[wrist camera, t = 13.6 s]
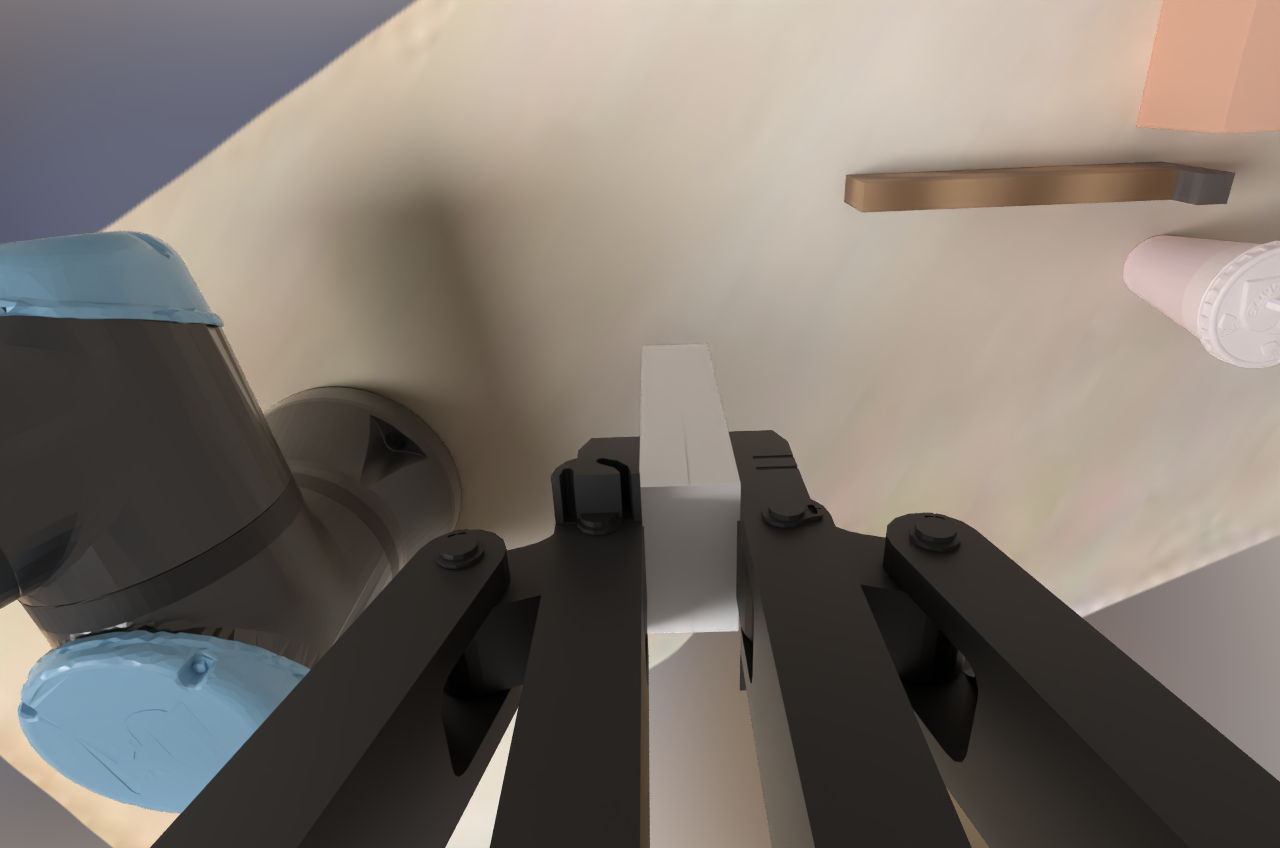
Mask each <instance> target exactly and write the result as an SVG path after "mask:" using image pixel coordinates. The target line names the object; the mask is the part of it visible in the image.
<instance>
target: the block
mask: <svg viewBox="0 0 1280 848" xmlns="http://www.w3.org/2000/svg"><path fill="white" fill-rule="evenodd" d="M1136 127H1147V128H1159V129H1172V130H1184V131H1197V132H1210V133H1243V132H1264V131H1280V0H1163V4H1162V8H1161V13H1160V17H1159V22H1158V27H1157V31H1156V36H1155V41H1154V45H1153V50H1152V54H1151V59H1150V64H1149V68H1148V73H1147V78H1146V82H1145V87H1144V91H1143V96H1142V101H1141V105H1140V110H1139V114H1138V119H1137V124H1136Z"/></svg>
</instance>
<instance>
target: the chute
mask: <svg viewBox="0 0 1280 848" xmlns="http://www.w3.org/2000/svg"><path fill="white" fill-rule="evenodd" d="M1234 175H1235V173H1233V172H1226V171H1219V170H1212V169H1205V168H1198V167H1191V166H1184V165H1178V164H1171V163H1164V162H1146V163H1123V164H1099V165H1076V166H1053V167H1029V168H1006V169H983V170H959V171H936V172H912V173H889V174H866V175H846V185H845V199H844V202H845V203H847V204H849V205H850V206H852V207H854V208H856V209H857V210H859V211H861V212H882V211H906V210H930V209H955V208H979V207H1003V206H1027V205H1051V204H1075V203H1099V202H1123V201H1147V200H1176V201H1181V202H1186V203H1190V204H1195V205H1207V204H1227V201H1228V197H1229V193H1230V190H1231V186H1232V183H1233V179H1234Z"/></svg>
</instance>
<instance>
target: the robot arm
mask: <svg viewBox="0 0 1280 848" xmlns="http://www.w3.org/2000/svg"><path fill="white" fill-rule="evenodd" d="M222 326H224V324H223V321H222V320H221V318H220V317H219V316H218V315H216V314H214V313H212V311H211V309H210V308H209V306H208V304H207V302H206V301H205V299H204V297H203V295H202V293H201V292H200V290H199V288H198V286H197V284H196V283H195V281H194V279H193V277H192V276H191V274H190V272H189V270H188V268H187V267H186V265H185V263H184V261H183V260H182V258H181V257H180V255H179V254H178V253H177V252H176V251H175V250H174V249H173V248H172V247H171V246H169V245H168V244H167V243H165V242H164V241H162V240H160V239H158V238H156V237H154V236H151V235H148V234H144V233H140V232H134V231H113V232H100V233H88V234H79V235H70V236H61V237H52V238H44V239H36V240H29V241H20V242H13V243H6V244H0V609H1V608H3V607H4V606H6V605H8V604H10V603H11V602H13V601H15V600H17V599H18V601H19V602H20V603H21V604H22V606H23V607H24V608H25V610H26V611H27V612H28V614H29V615H30V617H31V618H32V619H33V621H34V622H35V623H36V625H37V626H38V628H39V629H40V631H41V632H42V633H43V635H44V636H45V637H46V639H47V640H48V642H49V643H50V645H51V647H52V650H50V651H49V652H48V653H47V654H45V655H44V656H43V657H41V658H40V659H39V660H38V661H37V663H36V664H35V665H34V666H33V667H32V668H31V670H30V672H29V676H28V680H27V682H26V683H25V684H24V686H23V688H22V691H21V700H22V702H21V703H20V705H19V708H18V717H19V722H20V726H21V728H22V730H23V733H24V734H25V736H26V738H27V739H28V741H29V743H30V745H31V746H32V747H33V748H34V750H35V751H36V752H37V753H38V754H39V755H40V756H41V757H42V758H43V759H44V760H45V761H46V762H47V763H48V764H49V765H50V766H51V767H53V768H54V769H55V770H56V771H58V772H59V773H60V774H62V775H63V776H65V777H66V778H68V779H70V780H71V781H73V782H75V783H76V784H78V785H80V786H82V787H84V788H86V789H88V790H90V791H92V792H94V793H97V794H99V795H101V796H104V797H106V798H109V799H112V800H115V801H118V802H121V803H125V804H130V805H135V806H139V807H142V808H145V809H150V810H155V811H161V812H169V813H181V814H180V815H179V816H178V817H177V818H176V820H175V821H174V822H173V823H172V824H171V825H170V826H169V827H168V828H167V830H166V831H165V832H164V833H163V834H162V835H161V836H160V837H159V838H158V840H157V841H156V842H155V843H154V844H153V845H152V846H151V847H150V848H445V847H446V845H447V843H448V841H449V839H450V837H451V836H452V834H453V832H454V830H455V828H456V826H457V824H458V822H459V820H460V818H461V816H462V814H463V812H464V810H465V809H466V807H467V805H468V803H469V801H470V799H471V797H472V795H473V793H474V791H475V789H476V787H477V785H478V784H479V782H480V780H481V778H482V776H483V774H484V772H485V770H486V768H487V766H488V764H489V762H490V760H491V758H492V757H493V755H494V753H495V751H496V749H497V747H498V745H499V743H500V741H501V739H502V737H503V735H504V733H505V731H506V730H507V728H508V726H509V724H510V722H511V720H512V718H513V716H514V714H515V712H516V710H517V708H518V712H517V717H516V722H515V727H514V731H513V736H512V741H511V746H510V751H509V756H508V761H507V766H506V771H505V776H504V780H503V785H502V790H501V795H500V800H499V805H498V810H497V815H496V820H495V825H494V829H493V834H492V839H491V844H490V848H650V814H649V813H650V811H649V810H650V808H649V655H648V634H650V633H687V632H718V631H719V632H721V631H722V632H723V631H738V618H739V616H740V623H741V657H740V660H741V661H740V690H747V696H748V702H749V708H750V715H751V721H752V727H753V733H754V740H755V745H756V752H757V757H758V764H759V770H760V777H761V783H762V789H763V795H764V801H765V808H766V814H767V820H768V826H769V833H770V839H771V845H772V848H971V845H970V843H969V841H968V838H967V836H966V833H965V831H964V829H963V827H962V824H961V822H960V819H959V817H958V815H957V812H956V810H955V807H954V805H953V803H952V800H951V798H950V796H949V794H948V791H947V789H948V790H949V791H950V793H951V794H952V796H953V797H954V798H955V800H956V801H957V803H958V804H959V805H960V807H961V808H962V810H963V811H964V812H965V814H966V815H967V817H968V818H969V819H970V821H971V822H972V824H973V825H974V826H975V828H976V829H977V831H978V832H979V833H980V835H981V836H982V838H983V839H984V840H985V842H986V843H987V845H988V846H989V847H990V848H1280V782H1279V781H1278V780H1277V779H1276V778H1275V777H1273V776H1272V775H1271V774H1270V773H1268V772H1267V771H1266V770H1265V769H1264V768H1262V767H1261V766H1260V765H1259V764H1257V763H1256V762H1255V761H1254V760H1253V759H1252V758H1250V757H1249V756H1248V755H1247V754H1246V753H1244V752H1243V751H1242V750H1241V749H1239V748H1238V747H1237V746H1236V745H1235V744H1234V743H1232V742H1231V741H1230V740H1229V739H1227V738H1226V737H1225V736H1224V735H1223V734H1221V733H1220V732H1219V731H1218V730H1217V729H1215V728H1214V727H1213V726H1212V725H1211V724H1209V723H1208V722H1207V721H1206V720H1205V719H1203V718H1202V717H1201V716H1200V715H1199V714H1197V713H1196V712H1195V711H1193V709H1191V708H1190V707H1189V706H1188V705H1186V704H1185V703H1184V702H1183V701H1182V700H1180V699H1179V698H1178V697H1177V696H1176V695H1174V694H1173V693H1172V692H1171V691H1170V690H1168V689H1167V688H1166V687H1165V686H1164V685H1162V684H1161V683H1160V682H1159V681H1158V680H1156V679H1155V678H1154V677H1153V676H1151V675H1150V674H1149V673H1148V672H1147V671H1145V670H1144V669H1143V668H1142V667H1141V666H1139V665H1138V664H1137V663H1136V662H1135V661H1133V660H1132V659H1131V658H1130V657H1129V656H1127V655H1126V654H1125V653H1124V652H1123V651H1121V650H1120V649H1119V648H1117V646H1115V645H1114V644H1113V643H1112V642H1110V641H1109V640H1108V639H1107V638H1106V637H1104V636H1103V635H1102V634H1101V633H1099V632H1098V631H1097V630H1096V629H1094V627H1092V626H1091V625H1090V624H1089V623H1088V622H1086V621H1085V620H1084V619H1083V618H1082V617H1080V616H1079V615H1078V614H1077V613H1075V612H1074V611H1073V610H1072V609H1071V608H1069V607H1068V606H1067V605H1066V604H1065V603H1063V602H1062V601H1061V600H1060V599H1059V598H1057V597H1056V596H1055V595H1054V594H1053V593H1051V592H1050V591H1049V590H1048V589H1047V588H1045V587H1044V586H1043V585H1042V584H1041V583H1039V582H1038V581H1037V580H1036V579H1034V578H1033V577H1032V576H1031V575H1030V574H1028V573H1027V572H1026V571H1025V570H1024V569H1022V568H1021V567H1020V566H1019V565H1018V564H1016V563H1015V562H1014V561H1013V560H1012V559H1010V558H1009V557H1008V556H1007V555H1006V554H1004V553H1003V552H1002V551H1001V550H999V549H998V548H997V547H996V546H995V545H993V544H992V543H991V542H990V541H989V540H987V539H986V538H985V537H984V536H983V535H981V534H980V533H979V532H978V531H977V530H975V529H974V528H972V527H970V526H969V525H967V524H965V523H964V522H962V521H959V520H956V519H953V518H950V517H947V516H945V515H941V514H933V513H915V514H907V515H904V516H901V517H897V518H895V519H894V520H893V521H892V522H891V523H890V524H888V525H887V533H886V538H884V537H878V536H871V535H865V534H859V533H855V532H850V531H846V530H844V529H841V528H838V527H836V526H835V524H834V522H833V519H832V517H831V515H830V513H829V512H828V511H827V510H826V508H825V507H824V506H823V505H821V504H819V503H817V502H815V501H814V500H812V499H810V497H809V494H808V492H807V489H806V487H805V484H804V482H803V479H802V477H801V474H800V472H799V469H797V464H796V462H795V459H794V457H793V454H792V451H791V449H790V446H789V444H788V441H786V440H785V439H783V438H782V437H781V436H779V435H778V434H777V433H775V432H774V431H773V430H764V431H735V432H728V428H727V424H726V419H725V415H724V411H723V407H722V402H721V398H720V394H719V390H718V385H717V381H716V377H715V373H714V368H713V364H712V360H711V356H710V351H709V347H708V343H700V344H673V345H646V346H642V367H641V416H640V437H615V438H591V439H590V440H589V441H588V442H587V443H586V444H585V445H584V446H583V447H582V448H581V449H580V450H579V452H578V457H577V458H576V459H573V460H570V461H567V462H565V463H564V464H562V465H560V466H559V467H557V468H556V469H555V471H554V472H553V474H552V475H551V482H552V491H553V501H554V510H555V520H556V526H555V531H554V534H553V535H552V536H550V537H549V538H547V539H545V540H542V541H540V542H538V543H535V544H532V545H528V546H525V547H521V548H516V549H512V550H506V546H505V543H504V540H503V539H502V538H500V537H499V536H497V535H496V534H495V533H492V532H488V531H484V530H467V529H464V530H457V531H453V530H454V528H455V526H456V523H457V520H458V517H459V513H460V507H461V487H460V481H459V476H458V473H457V469H456V467H455V464H454V462H453V460H452V457H451V455H450V454H449V452H448V450H447V448H446V447H445V445H444V444H443V442H442V441H441V440H440V438H439V437H438V436H437V435H436V433H435V432H434V431H433V430H432V429H431V428H430V427H429V426H428V425H427V424H426V423H425V422H424V421H423V420H421V419H420V418H419V417H418V416H416V415H415V414H414V413H412V412H411V411H409V410H408V409H406V408H405V407H403V406H401V405H400V404H398V403H396V402H394V401H392V400H390V399H388V398H385V397H383V396H380V395H377V394H374V393H371V392H367V391H363V390H358V389H352V388H343V387H326V388H317V389H311V390H307V391H303V392H300V393H297V394H294V395H292V396H290V397H288V398H286V399H284V400H282V401H280V402H279V403H277V404H276V405H274V406H273V407H272V408H271V409H269V410H268V411H267V412H266V413H265V414H264V415H263V413H262V411H261V409H260V407H259V405H258V402H257V400H256V398H255V396H254V394H253V392H252V390H251V388H250V386H249V384H248V382H247V380H246V378H245V376H244V373H243V371H242V369H241V367H240V365H239V363H238V361H237V359H236V357H235V355H234V353H233V351H232V349H231V347H230V344H229V342H228V340H227V338H226V336H225V334H224V332H223V330H222V328H221V327H222ZM738 615H739V616H738ZM518 706H519V707H518ZM946 787H947V789H946Z"/></svg>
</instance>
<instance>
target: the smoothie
mask: <svg viewBox="0 0 1280 848" xmlns="http://www.w3.org/2000/svg"><path fill="white" fill-rule="evenodd" d="M1123 279H1124V282H1125V284H1126V286H1127V287H1128V289H1129V290H1131V291H1132V292H1133V293H1135V294H1136V295H1138V296H1139V297H1141V298H1142V299H1143V300H1145V301H1146V302H1148V303H1149V304H1151V305H1152V306H1153V307H1155V308H1156V309H1158V310H1159V311H1161V312H1162V313H1164V314H1165V315H1166V316H1168V317H1169V318H1171V319H1172V320H1174V321H1175V322H1176V323H1178V324H1179V325H1181V326H1182V327H1184V328H1185V329H1187V330H1188V331H1189V332H1191V333H1192V334H1193V335H1195V336H1196V337H1198V338H1199V339H1200V341H1201V344H1202V345H1203V346H1204V347H1205V348H1206V350H1207V351H1208V352H1209V353H1210V354H1211V355H1213V356H1214V357H1216V358H1218V359H1219V360H1221V361H1224V362H1229V363H1231V364H1233V365H1236V366H1239V367H1244V368H1265V367H1271V366H1274V365H1278V364H1280V241H1272V242H1268V243H1265V244H1259V243H1245V242H1234V241H1223V240H1212V239H1200V238H1189V237H1178V236H1167V235H1160V236H1154V237H1151V238H1149V239H1147V240H1145V241H1143V242H1141V243H1140V244H1139V245H1138V246H1136V247H1135V248H1134V249H1133V250H1132V252H1131V253H1130V254H1129V256H1128V258H1127V260H1126V262H1125V265H1124V268H1123Z"/></svg>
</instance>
